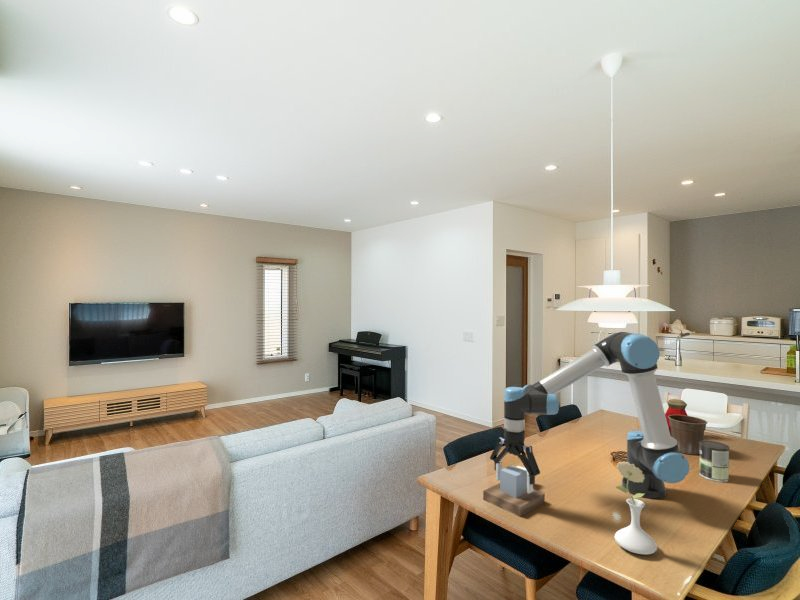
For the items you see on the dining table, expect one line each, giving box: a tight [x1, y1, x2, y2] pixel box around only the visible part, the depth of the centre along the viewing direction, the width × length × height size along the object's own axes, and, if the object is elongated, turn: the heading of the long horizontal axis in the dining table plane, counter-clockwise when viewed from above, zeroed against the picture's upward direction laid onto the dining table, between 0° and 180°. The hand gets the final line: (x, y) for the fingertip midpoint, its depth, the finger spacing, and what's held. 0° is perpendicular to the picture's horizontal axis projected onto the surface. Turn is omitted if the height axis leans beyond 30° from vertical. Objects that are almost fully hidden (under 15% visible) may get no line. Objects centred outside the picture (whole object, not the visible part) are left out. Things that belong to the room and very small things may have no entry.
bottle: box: [664, 398, 689, 437], centre depth 232 cm, size 16×14×20 cm
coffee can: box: [698, 439, 730, 483], centre depth 177 cm, size 10×10×14 cm
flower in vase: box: [614, 461, 658, 556], centre depth 127 cm, size 13×11×25 cm
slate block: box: [499, 465, 527, 498], centre depth 155 cm, size 7×7×8 cm
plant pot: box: [668, 415, 708, 456], centre depth 209 cm, size 16×16×16 cm
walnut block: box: [482, 482, 546, 517], centre depth 155 cm, size 16×16×4 cm
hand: (513, 485), depth 155 cm, fingers open, 13 cm apart
